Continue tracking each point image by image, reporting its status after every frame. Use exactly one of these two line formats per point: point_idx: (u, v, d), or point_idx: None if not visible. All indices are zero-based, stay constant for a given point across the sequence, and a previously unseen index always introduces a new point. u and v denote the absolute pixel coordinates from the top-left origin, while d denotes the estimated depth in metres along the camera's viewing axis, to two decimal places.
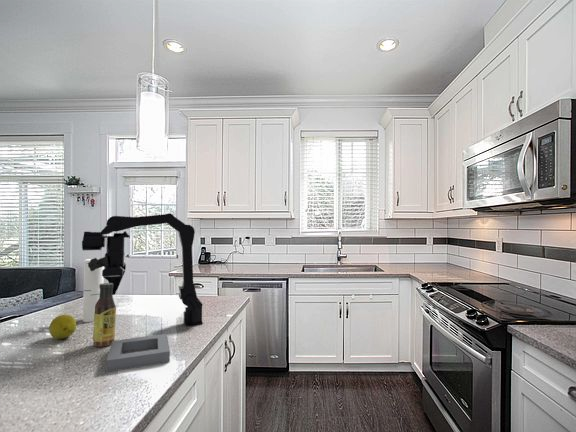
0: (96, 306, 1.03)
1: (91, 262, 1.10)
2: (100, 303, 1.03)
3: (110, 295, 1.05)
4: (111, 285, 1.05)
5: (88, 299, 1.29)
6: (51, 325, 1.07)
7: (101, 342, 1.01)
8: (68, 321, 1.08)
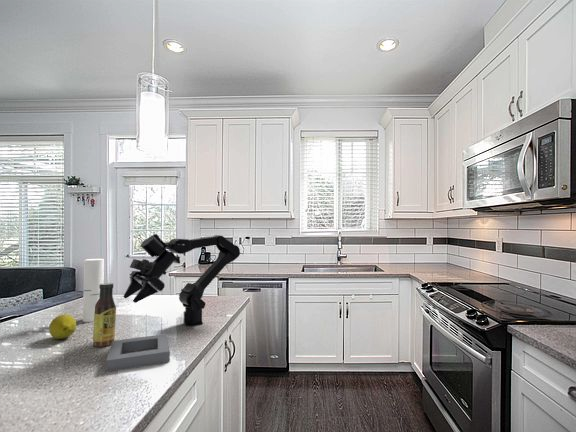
0: (96, 306, 1.03)
1: (144, 262, 1.10)
2: (100, 303, 1.03)
3: (110, 295, 1.05)
4: (111, 285, 1.05)
5: (88, 299, 1.29)
6: (51, 325, 1.07)
7: (101, 342, 1.01)
8: (68, 321, 1.08)
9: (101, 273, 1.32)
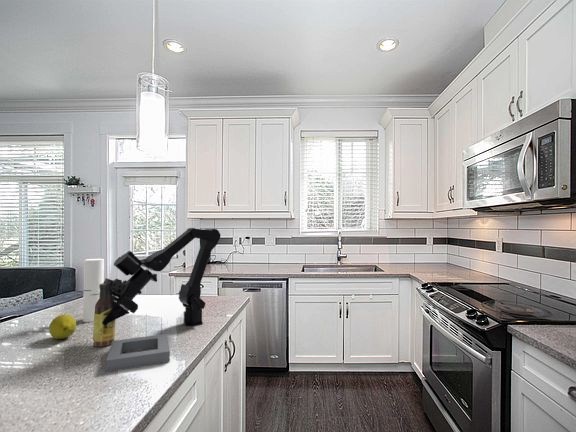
0: (96, 306, 1.03)
1: (116, 282, 1.03)
2: (100, 303, 1.03)
3: (110, 295, 1.05)
4: None
5: (88, 299, 1.29)
6: (51, 325, 1.07)
7: (101, 341, 1.01)
8: (68, 321, 1.08)
9: (101, 273, 1.32)
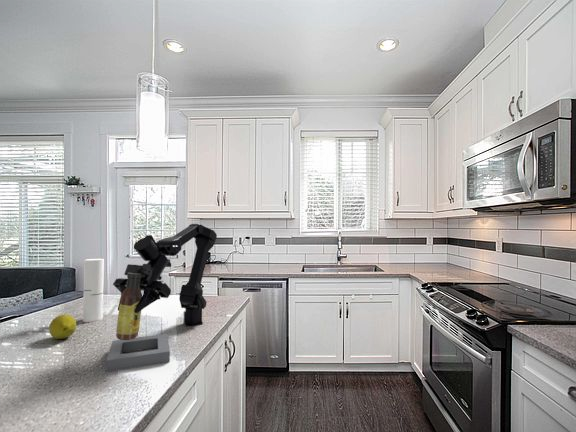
0: (126, 297, 0.94)
1: (147, 267, 0.97)
2: (131, 293, 0.95)
3: (139, 285, 0.97)
4: (141, 274, 0.98)
5: (88, 299, 1.29)
6: (51, 325, 1.07)
7: (130, 334, 0.94)
8: (68, 321, 1.08)
9: (101, 273, 1.32)
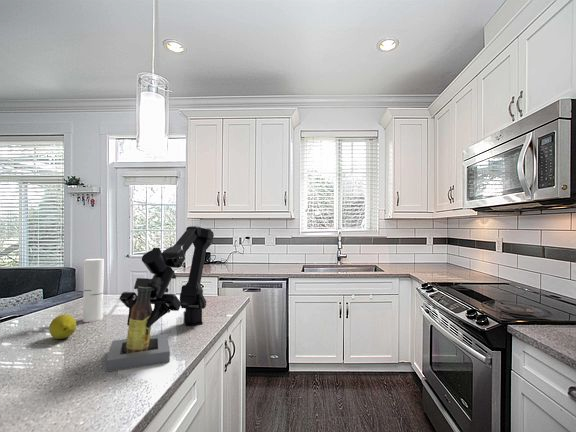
0: (137, 311, 0.93)
1: (157, 280, 0.97)
2: (142, 308, 0.94)
3: None
4: (151, 288, 0.97)
5: (88, 299, 1.29)
6: (51, 325, 1.07)
7: (141, 349, 0.93)
8: (68, 321, 1.08)
9: (101, 273, 1.32)
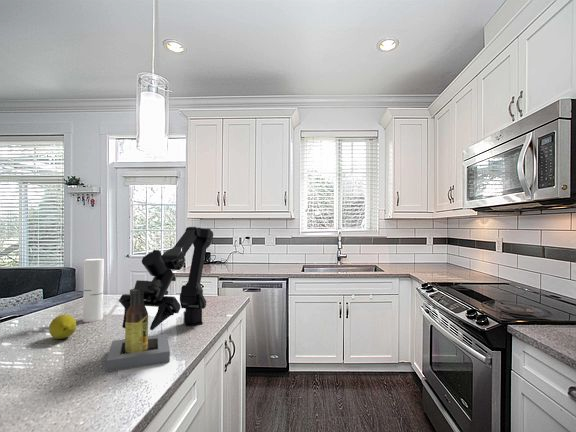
0: (132, 314, 0.93)
1: (157, 282, 0.97)
2: (136, 310, 0.94)
3: (143, 301, 0.97)
4: None
5: (88, 299, 1.29)
6: (51, 325, 1.07)
7: (140, 351, 0.93)
8: (68, 321, 1.08)
9: (101, 273, 1.32)
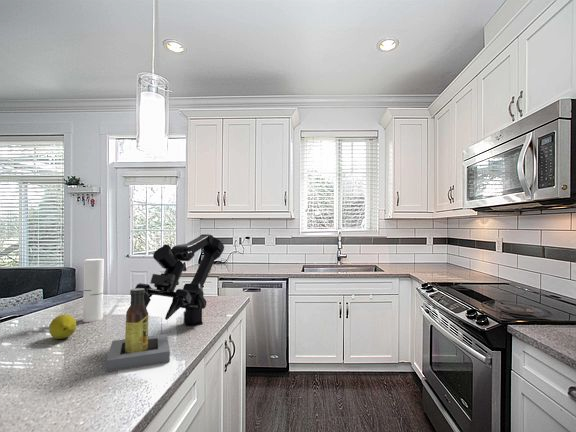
0: (132, 314, 0.93)
1: (172, 277, 1.05)
2: (137, 310, 0.94)
3: (143, 301, 0.97)
4: (144, 290, 0.97)
5: (88, 299, 1.29)
6: (51, 325, 1.07)
7: (140, 351, 0.93)
8: (68, 321, 1.08)
9: (101, 273, 1.32)
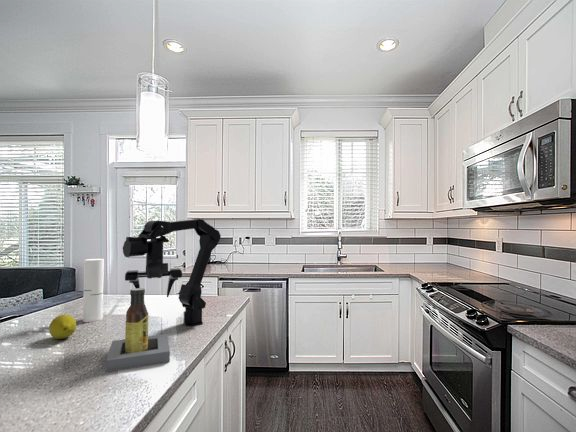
0: (132, 314, 0.93)
1: None
2: (137, 310, 0.94)
3: (143, 301, 0.97)
4: (144, 290, 0.97)
5: (88, 299, 1.29)
6: (51, 325, 1.07)
7: (140, 351, 0.93)
8: (68, 321, 1.08)
9: (101, 273, 1.32)
